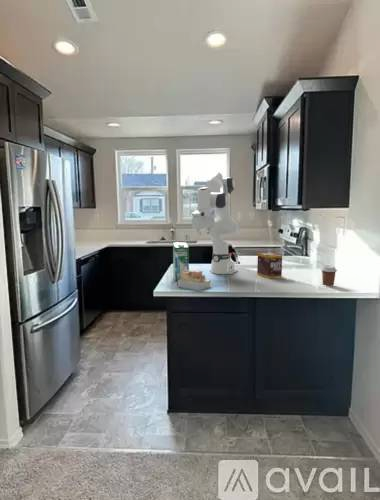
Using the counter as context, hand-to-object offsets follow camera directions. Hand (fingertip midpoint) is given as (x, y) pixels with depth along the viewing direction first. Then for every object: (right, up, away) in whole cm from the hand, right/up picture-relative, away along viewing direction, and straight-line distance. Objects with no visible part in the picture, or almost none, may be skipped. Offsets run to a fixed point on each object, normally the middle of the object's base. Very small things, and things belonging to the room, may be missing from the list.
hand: (203, 234), depth 225 cm
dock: (-7, -32, -7) cm, 34 cm away
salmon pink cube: (-4, -27, -9) cm, 28 cm away
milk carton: (-15, -30, +13) cm, 36 cm away
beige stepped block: (-7, -28, -7) cm, 30 cm away
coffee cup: (+77, -32, -5) cm, 84 cm away
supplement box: (+47, -28, +24) cm, 60 cm away
